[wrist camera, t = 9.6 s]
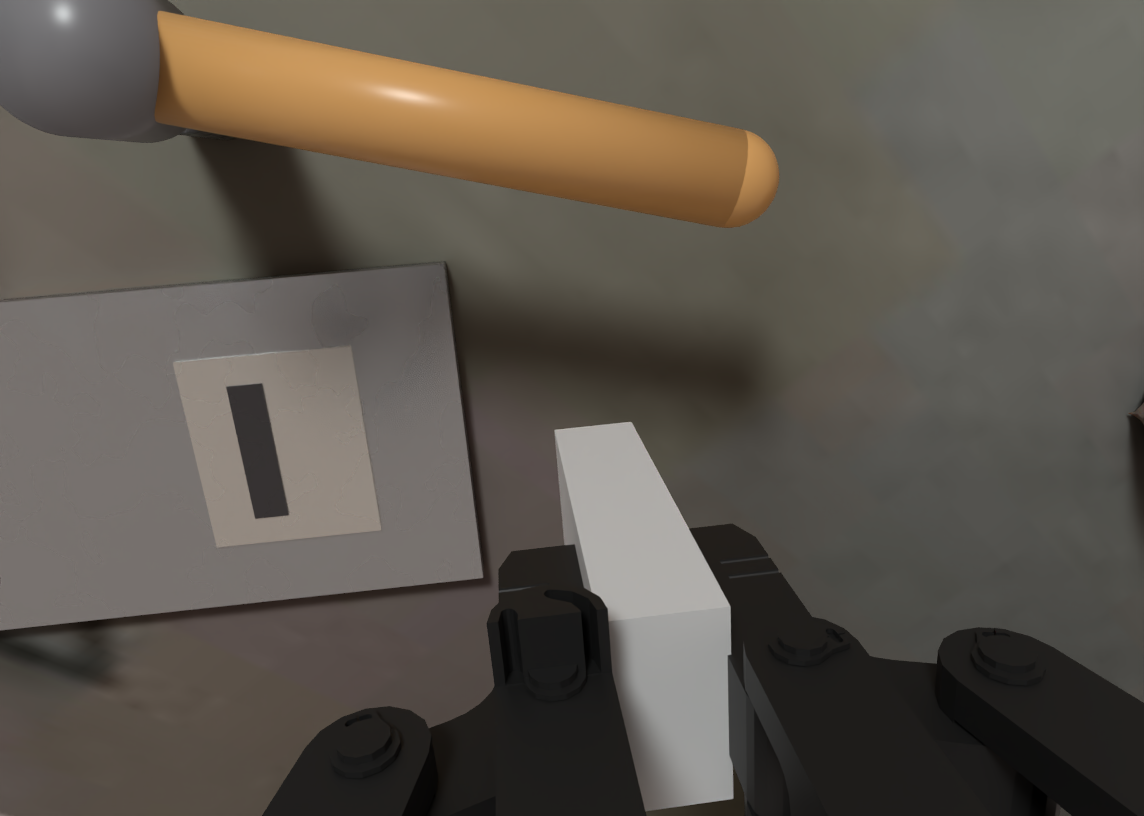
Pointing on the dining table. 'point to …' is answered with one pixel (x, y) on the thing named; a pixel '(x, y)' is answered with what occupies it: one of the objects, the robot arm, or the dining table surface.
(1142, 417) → the fruit
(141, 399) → the panel
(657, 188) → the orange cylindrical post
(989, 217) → the dining table surface
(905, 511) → the dining table surface
